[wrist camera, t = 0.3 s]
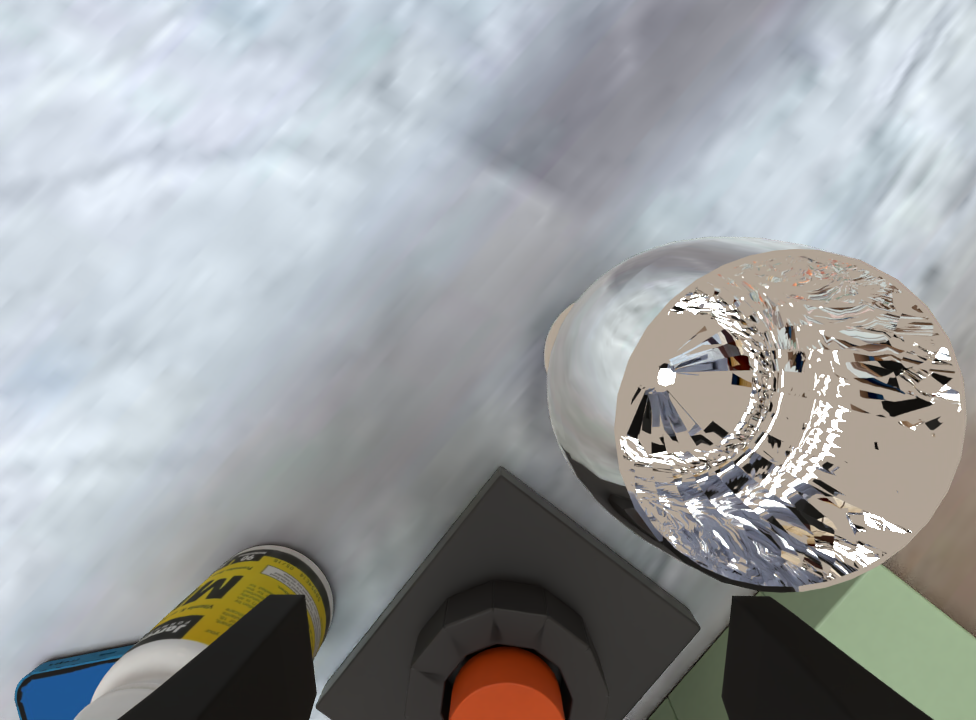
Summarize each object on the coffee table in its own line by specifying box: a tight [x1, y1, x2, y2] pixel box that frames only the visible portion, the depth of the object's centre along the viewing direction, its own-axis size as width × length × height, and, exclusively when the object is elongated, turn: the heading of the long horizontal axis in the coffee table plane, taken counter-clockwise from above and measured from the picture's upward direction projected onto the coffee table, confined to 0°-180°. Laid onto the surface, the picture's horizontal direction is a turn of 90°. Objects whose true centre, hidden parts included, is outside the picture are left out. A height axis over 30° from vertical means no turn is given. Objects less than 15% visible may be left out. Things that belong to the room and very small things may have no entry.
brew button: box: [449, 646, 565, 720], centre depth 17 cm, size 4×4×2 cm
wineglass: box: [543, 237, 967, 593], centre depth 13 cm, size 6×6×12 cm
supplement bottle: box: [74, 545, 333, 720], centre depth 16 cm, size 5×5×8 cm
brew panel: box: [316, 467, 700, 720], centre depth 18 cm, size 11×9×3 cm
